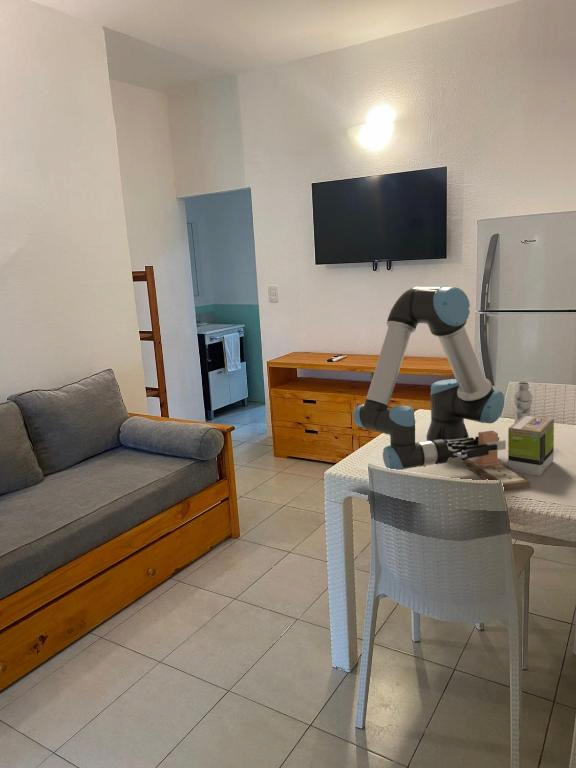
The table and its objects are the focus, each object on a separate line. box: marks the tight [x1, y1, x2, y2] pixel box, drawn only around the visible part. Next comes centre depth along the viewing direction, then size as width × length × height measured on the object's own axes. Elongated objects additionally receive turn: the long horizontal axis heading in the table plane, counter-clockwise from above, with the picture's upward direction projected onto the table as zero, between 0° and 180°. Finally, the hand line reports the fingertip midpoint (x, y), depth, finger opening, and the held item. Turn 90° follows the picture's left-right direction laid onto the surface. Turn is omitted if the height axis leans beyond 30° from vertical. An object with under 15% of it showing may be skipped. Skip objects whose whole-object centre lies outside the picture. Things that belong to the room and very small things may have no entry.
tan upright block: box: [475, 430, 502, 467], centre depth 183 cm, size 5×6×10 cm
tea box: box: [507, 415, 555, 477], centre depth 184 cm, size 15×10×15 cm, turn 141°
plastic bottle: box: [513, 381, 533, 424], centre depth 213 cm, size 6×7×20 cm
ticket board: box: [461, 457, 531, 492], centre depth 181 cm, size 24×9×2 cm, turn 11°
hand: (501, 442), depth 184 cm, fingers closed on tan upright block, 3 cm apart
